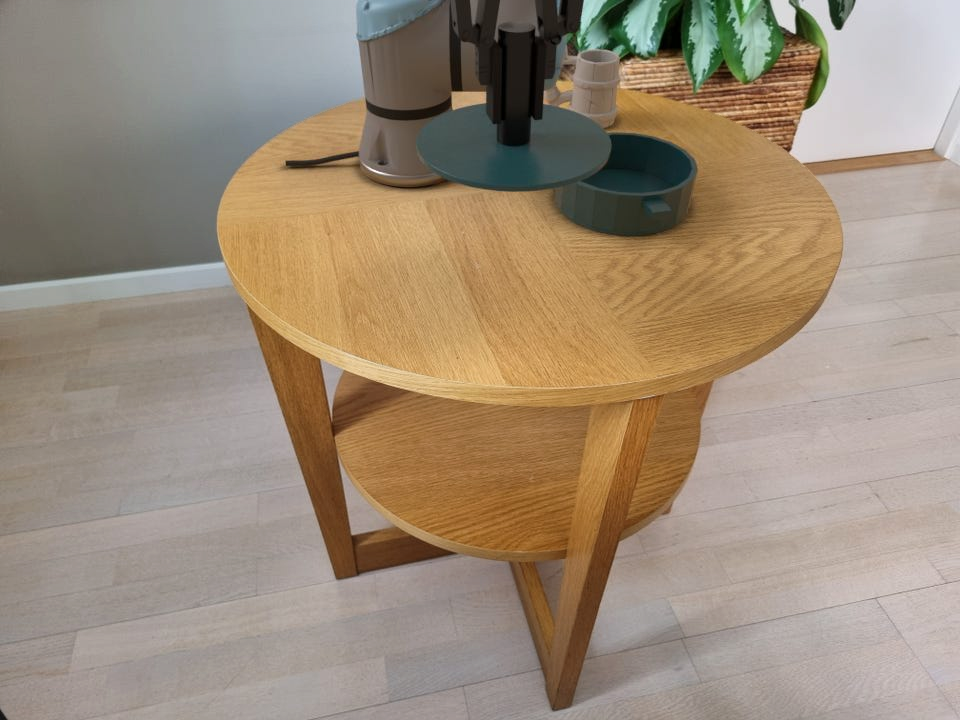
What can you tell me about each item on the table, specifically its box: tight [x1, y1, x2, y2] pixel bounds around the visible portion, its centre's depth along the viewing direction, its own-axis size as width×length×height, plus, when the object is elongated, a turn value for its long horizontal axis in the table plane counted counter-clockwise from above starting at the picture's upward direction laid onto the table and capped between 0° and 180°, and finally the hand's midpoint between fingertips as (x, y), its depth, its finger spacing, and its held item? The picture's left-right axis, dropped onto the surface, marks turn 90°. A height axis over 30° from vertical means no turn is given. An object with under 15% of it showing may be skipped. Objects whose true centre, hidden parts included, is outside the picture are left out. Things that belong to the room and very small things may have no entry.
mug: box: [544, 44, 621, 129], centre depth 107 cm, size 8×12×12 cm, turn 77°
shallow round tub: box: [554, 131, 699, 237], centre depth 90 cm, size 17×23×6 cm
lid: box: [416, 21, 611, 193], centre depth 63 cm, size 18×18×11 cm
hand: (513, 115), depth 65 cm, fingers closed on lid, 3 cm apart
